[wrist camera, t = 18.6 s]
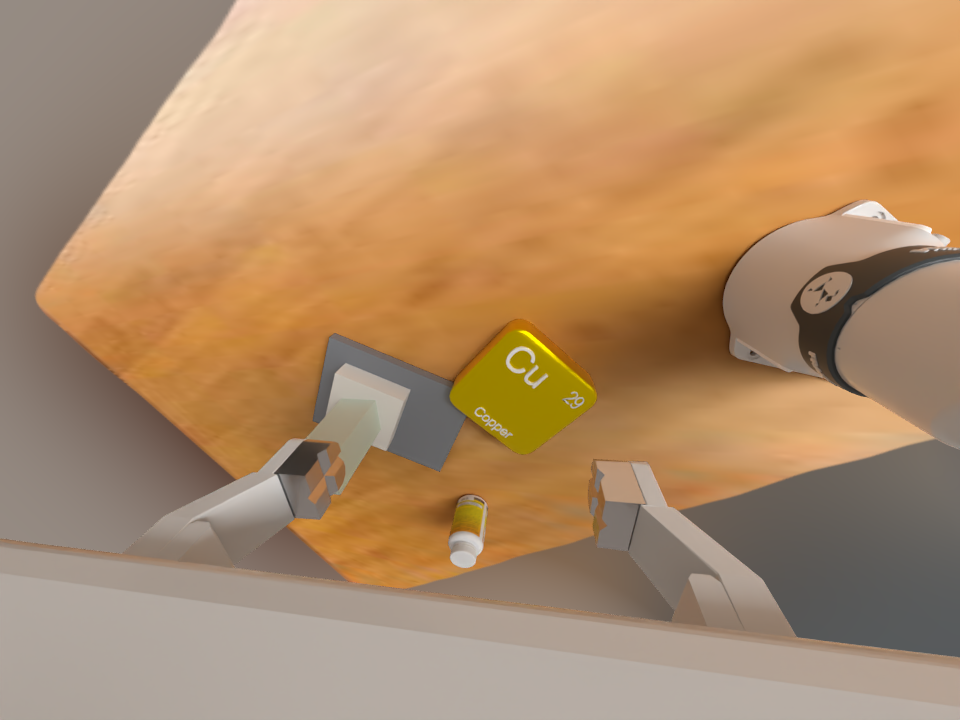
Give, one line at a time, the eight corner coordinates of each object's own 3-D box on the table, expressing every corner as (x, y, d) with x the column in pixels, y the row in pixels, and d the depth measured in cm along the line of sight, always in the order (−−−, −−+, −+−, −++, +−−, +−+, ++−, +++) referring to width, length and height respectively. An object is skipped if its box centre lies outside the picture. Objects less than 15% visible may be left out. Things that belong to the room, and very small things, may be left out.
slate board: (476, 392, 50) (472, 409, 46) (441, 465, 57) (435, 485, 53) (334, 333, 49) (317, 345, 45) (317, 415, 56) (301, 432, 52)
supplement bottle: (452, 496, 60) (438, 550, 51) (480, 490, 59) (471, 545, 50) (465, 517, 62) (454, 573, 53) (493, 512, 61) (486, 569, 52)
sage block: (375, 400, 47) (330, 461, 37) (381, 429, 50) (340, 494, 39) (341, 398, 48) (287, 457, 37) (348, 427, 50) (299, 491, 40)
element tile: (449, 382, 50) (441, 400, 46) (518, 311, 44) (517, 324, 40) (523, 441, 53) (523, 462, 49) (598, 381, 47) (605, 400, 43)
